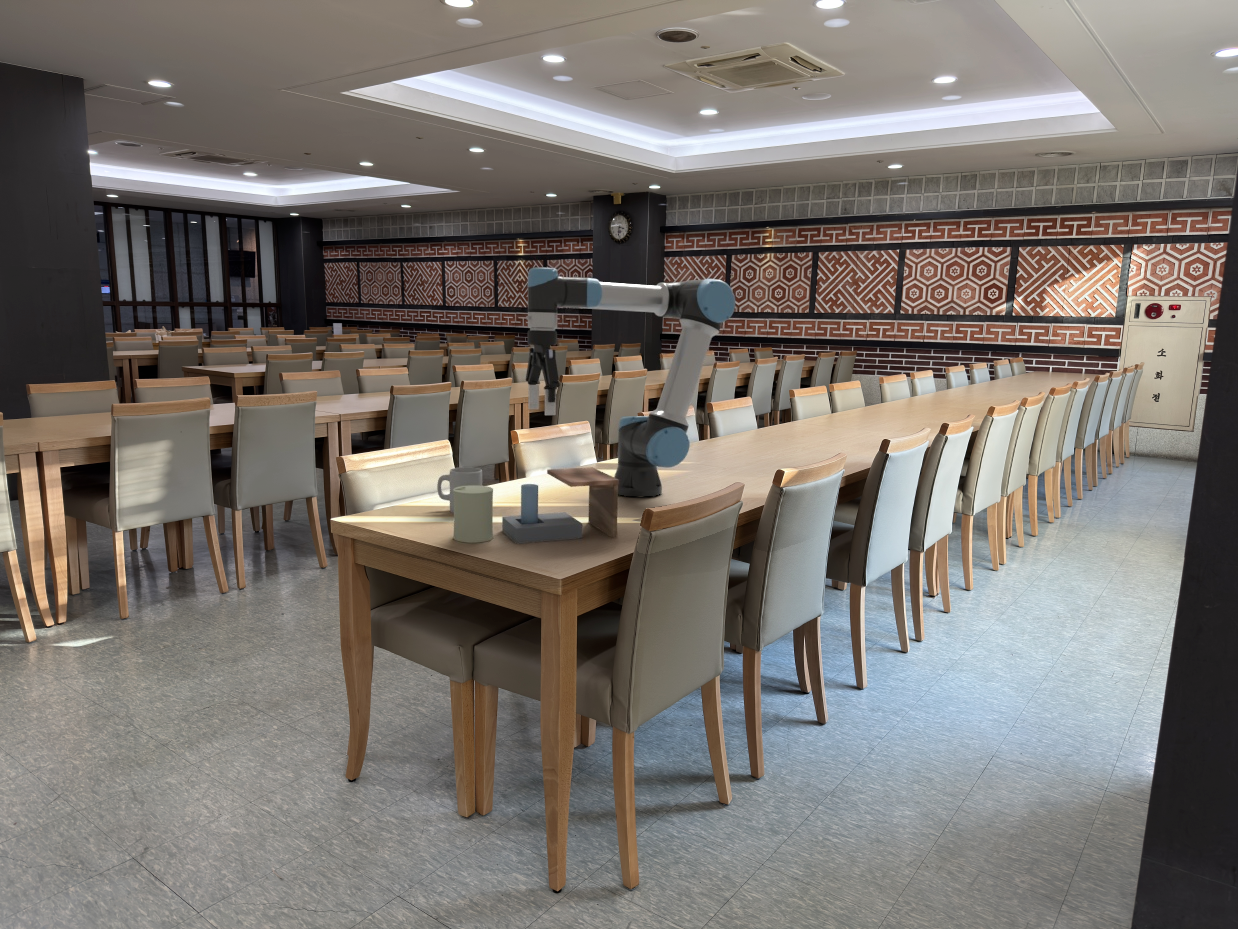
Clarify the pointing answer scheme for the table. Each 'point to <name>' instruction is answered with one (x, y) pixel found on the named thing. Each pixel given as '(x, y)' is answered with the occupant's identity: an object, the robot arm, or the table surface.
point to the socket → (542, 528)
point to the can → (473, 513)
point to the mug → (459, 481)
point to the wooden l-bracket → (595, 495)
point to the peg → (529, 504)
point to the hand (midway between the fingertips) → (541, 412)
